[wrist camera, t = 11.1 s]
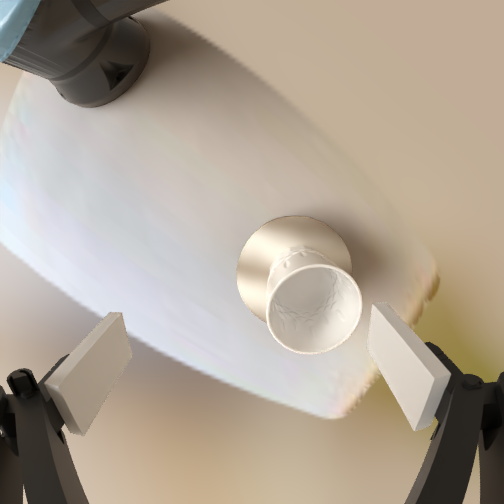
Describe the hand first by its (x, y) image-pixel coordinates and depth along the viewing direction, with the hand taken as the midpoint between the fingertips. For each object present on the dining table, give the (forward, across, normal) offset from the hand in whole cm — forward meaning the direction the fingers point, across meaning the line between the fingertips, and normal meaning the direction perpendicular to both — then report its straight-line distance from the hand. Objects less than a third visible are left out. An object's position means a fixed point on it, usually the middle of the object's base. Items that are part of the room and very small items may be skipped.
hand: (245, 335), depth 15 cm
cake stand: (+23, +5, -3) cm, 24 cm away
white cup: (+18, +5, -3) cm, 19 cm away
